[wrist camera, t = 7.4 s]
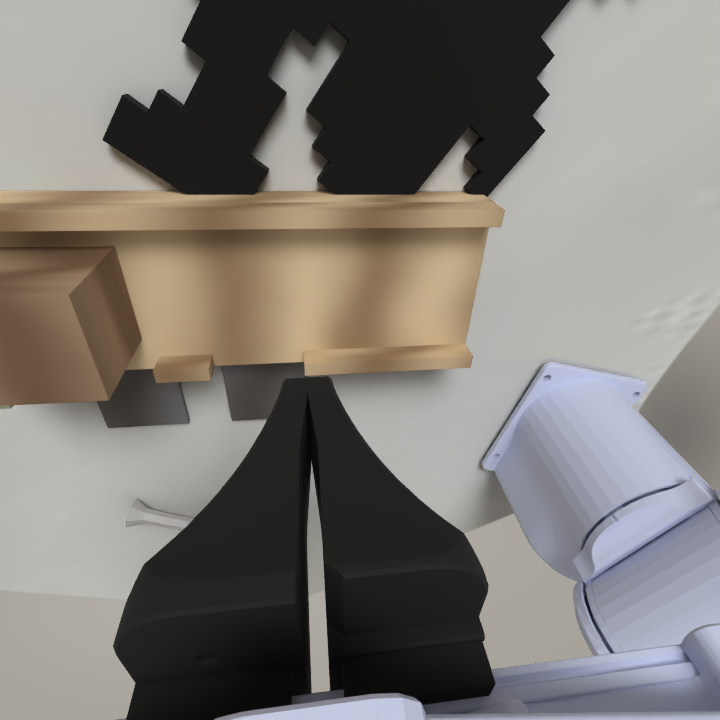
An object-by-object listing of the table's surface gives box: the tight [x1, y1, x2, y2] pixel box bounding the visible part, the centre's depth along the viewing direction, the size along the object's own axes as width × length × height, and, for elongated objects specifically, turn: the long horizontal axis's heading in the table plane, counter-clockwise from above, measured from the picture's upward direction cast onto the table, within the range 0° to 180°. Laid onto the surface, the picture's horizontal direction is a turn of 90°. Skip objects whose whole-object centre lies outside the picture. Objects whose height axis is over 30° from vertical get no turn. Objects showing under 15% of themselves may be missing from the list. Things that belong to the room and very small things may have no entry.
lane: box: [0, 191, 505, 428], centre depth 21 cm, size 22×13×4 cm, turn 88°
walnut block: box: [0, 246, 142, 406], centre depth 17 cm, size 4×4×4 cm
